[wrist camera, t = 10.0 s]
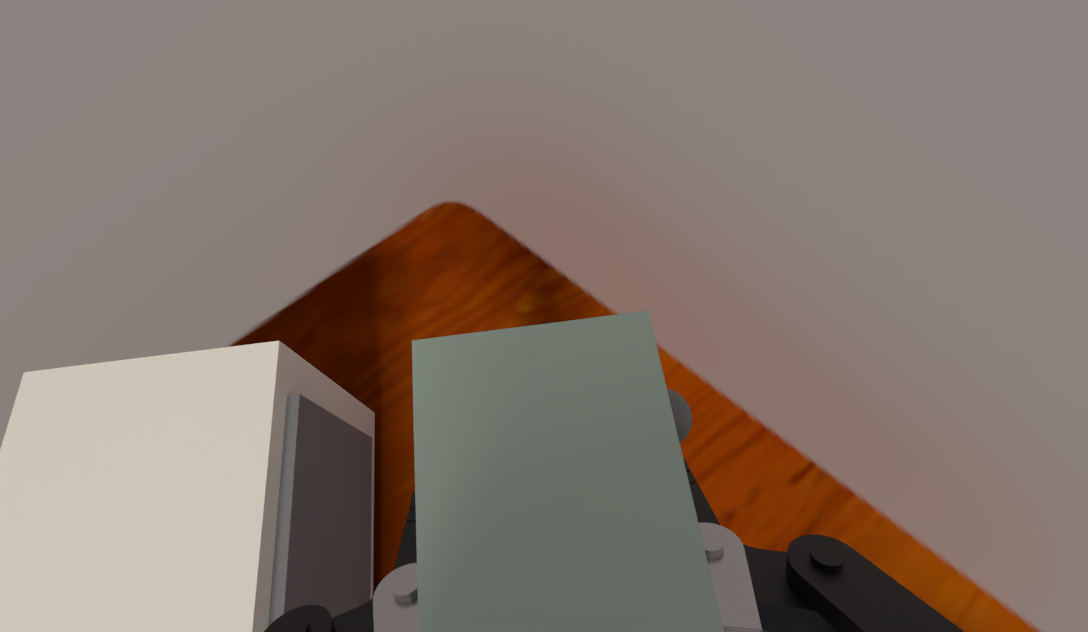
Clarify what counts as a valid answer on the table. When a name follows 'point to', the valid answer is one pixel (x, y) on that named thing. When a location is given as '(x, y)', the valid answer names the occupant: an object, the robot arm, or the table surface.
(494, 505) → the pale green rectangular box
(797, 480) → the table surface
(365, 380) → the table surface
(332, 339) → the table surface
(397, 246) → the table surface
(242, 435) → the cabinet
